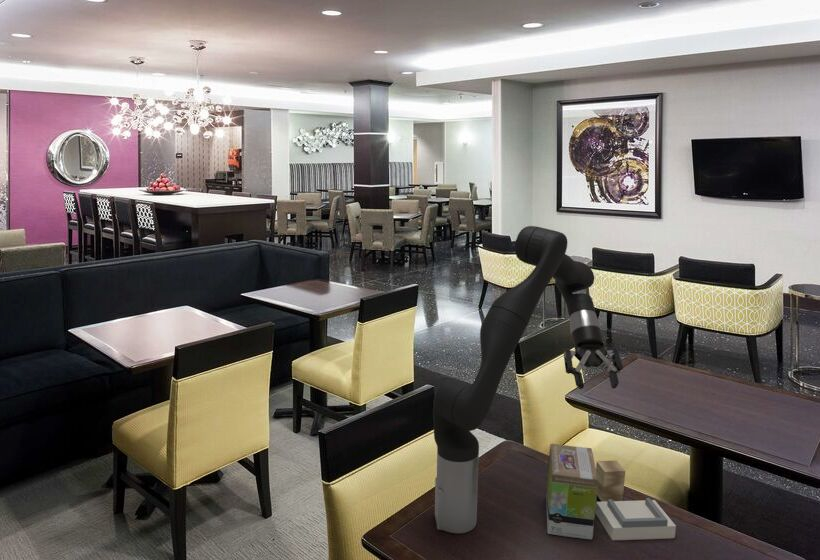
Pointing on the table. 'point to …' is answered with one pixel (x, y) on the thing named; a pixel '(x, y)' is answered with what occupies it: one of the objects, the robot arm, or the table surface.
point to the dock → (635, 520)
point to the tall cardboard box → (610, 481)
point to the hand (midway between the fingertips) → (598, 387)
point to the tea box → (571, 491)
